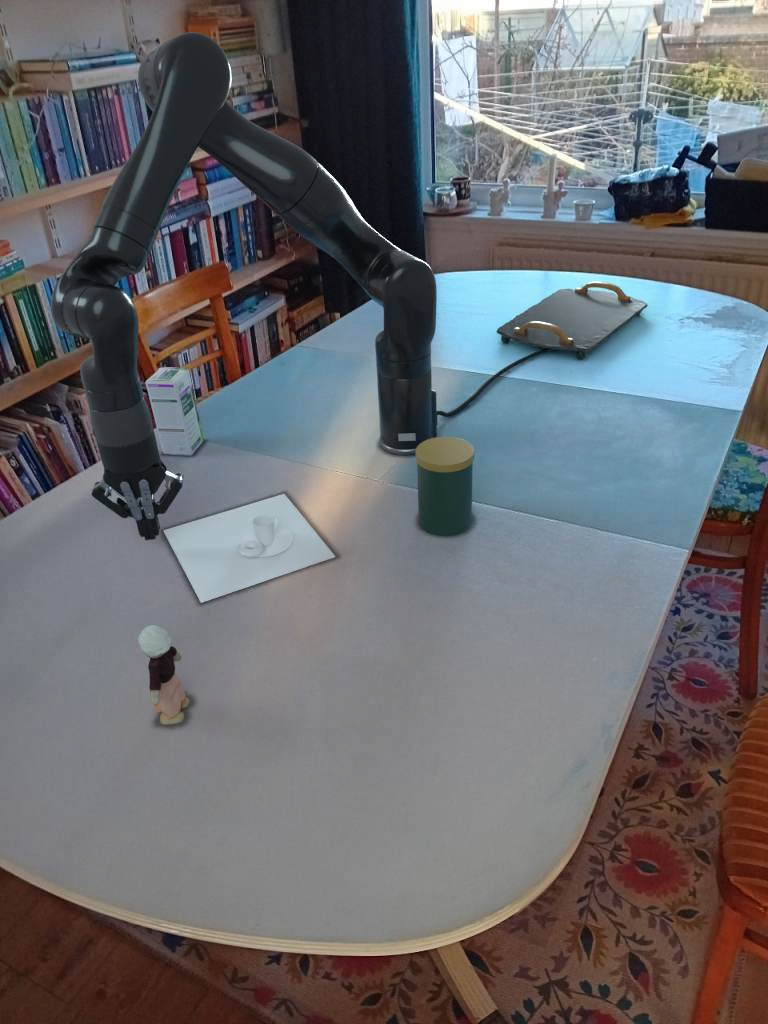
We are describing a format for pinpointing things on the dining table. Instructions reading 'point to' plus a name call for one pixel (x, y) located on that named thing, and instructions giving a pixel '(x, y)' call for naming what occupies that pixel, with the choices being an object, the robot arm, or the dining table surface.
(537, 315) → the serving tray
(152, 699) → the grandmother figurine
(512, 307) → the dining table surface
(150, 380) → the syrup box
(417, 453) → the tea tin
